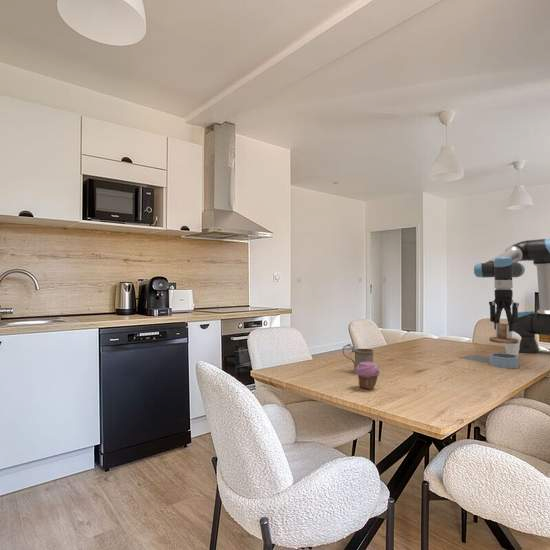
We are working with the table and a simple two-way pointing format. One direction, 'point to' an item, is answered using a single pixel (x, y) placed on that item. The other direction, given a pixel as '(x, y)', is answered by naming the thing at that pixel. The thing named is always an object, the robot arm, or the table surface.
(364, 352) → the mug
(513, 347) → the soft serve ice cream cone
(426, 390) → the table surface
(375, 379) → the cupcake
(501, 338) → the lid
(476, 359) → the mat
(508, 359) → the bowl
